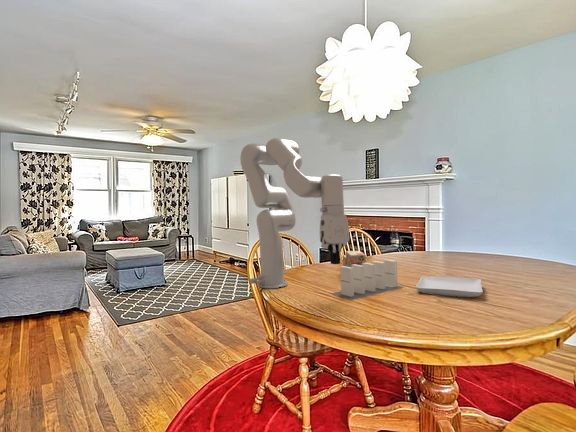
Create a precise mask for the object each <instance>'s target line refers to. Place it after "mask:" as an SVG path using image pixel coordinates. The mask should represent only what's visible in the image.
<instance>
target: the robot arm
mask: <svg viewBox="0 0 576 432" xmlns="http://www.w3.org/2000/svg"><path fill="white" fill-rule="evenodd" d="M240 165H241V170H242V172H243V174H244V175H245V177H246V179H247V183H248V186H249V189H250V193H251V197H252V199H253V202H254V204H255V206H256V207H258V208H259V209H263V210H261V211H260V212H259V213H258V214H257V216H256V226H257V230H258V236H259V258H260V259H259V263H260V274H258V276H257V277H253V278H250V279H249V282H250V284H257V285H256V286H257V287H258V288H262V289H280V288H279V287H281V288H284V286H285V287H287V286H288V285H289V284H288V281H287V280H284V279H285V275H284V272H285V271H284V246H283V239H282V237H281V235H280V233H279V232H286V231H291V230H293V228H294V227H295V225H296V223H297V221H296V214H295V211H294V208H293V205H292V202H291V199H290V196H289V194H288V191H287V190H286V189H285V188H284V187H282V186H280V185H279V186H278V185H272V184H270V182H269V181H270V180H269V179H268V175H267V174H266V172H265V170H264V169H263V168H262V167H261V166H260V165H263V166H278V167H279V168H280V169H281V170H282V171H283V178H284V182H285V185H287V187H288V188H289V189H290V190H291V191H292V192H293V193H294V194H295V195H296V196H298V197H300V198H304V199H305V198H316V199H317V198H321V207H320V208H319V211H320V212H321V215H320V221H319V241H320V243H321V245H320V246H321V248H323V249H326V250H327V251H328V253H329V256H330V257H329V260H330V264H331V265H340V264H341V252H342V249H343V247H345V246H347V245H348V243H349V242H350V229H349V221H348V217H347V214H346V213H345V206H344V201H345V199H344V184H343V181H344V180H343V177H342V175H340V174H325V175H323V176H310V175H305V174H303V173H302V172H301V171H300V169H301V167H302V165H303V159H302V157H301V156H300V147H299V145H298V143H297V142H295V141H294V140H291V139H287V138H286V139H285V138H281V137H274V138H271V139H269V140H267V142H266V144H261V143H249V144H246V145H245V146H243V148H242V150H241V153H240Z"/></svg>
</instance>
